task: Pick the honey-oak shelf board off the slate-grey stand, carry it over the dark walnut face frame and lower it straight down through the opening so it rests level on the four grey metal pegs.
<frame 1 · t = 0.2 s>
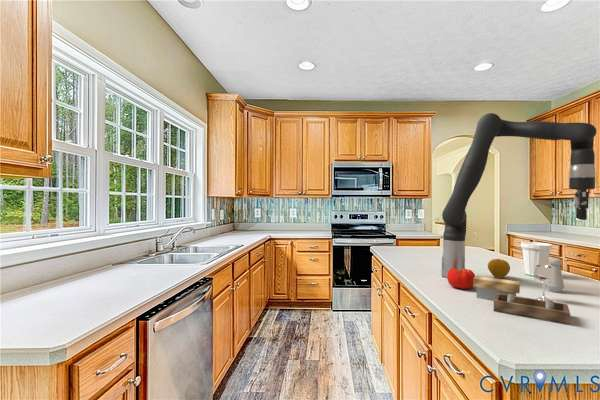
hand: (581, 219, 124), 29 cm above the countertop, fingers open, 8 cm apart
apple: (498, 278, 150), on the countertop
board: (496, 288, 117), point 4 cm above the countertop, touching stand
wineglass: (543, 299, 118), on the countertop
cup: (535, 275, 155), on the countertop
salt shaker: (554, 291, 128), on the countertop
stand: (496, 299, 117), on the countertop
peg frame: (529, 313, 103), on the countertop
tomato: (461, 287, 133), on the countertop
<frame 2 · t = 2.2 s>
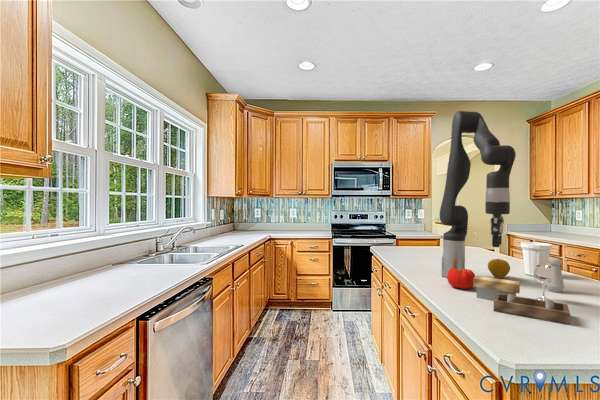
hand: (496, 245, 117), 19 cm above the countertop, fingers open, 8 cm apart
nothing on the countertop moved.
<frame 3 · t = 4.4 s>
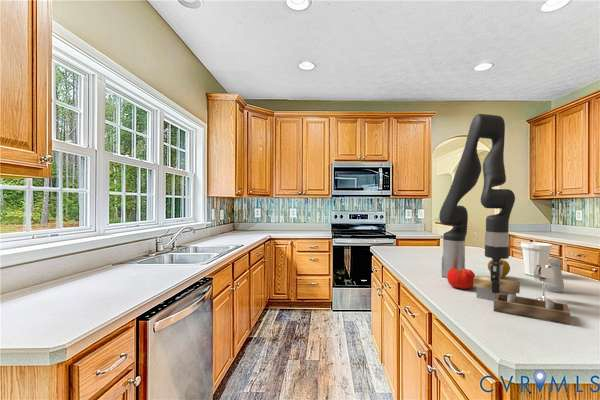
hand: (496, 291, 117), 3 cm above the countertop, fingers closed on board, 5 cm apart
board: (496, 288, 117), point 4 cm above the countertop, touching gripper, stand
everything else where it was.
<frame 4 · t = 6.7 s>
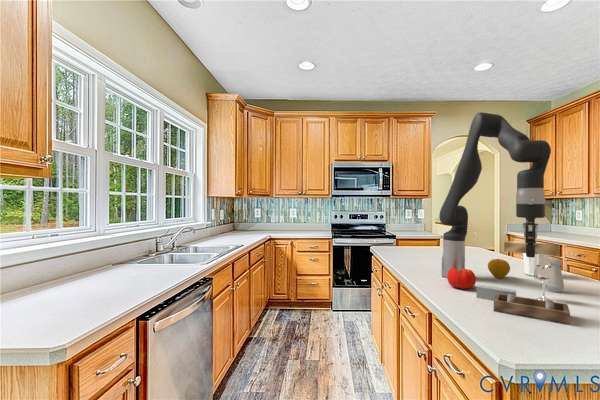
hand: (530, 255, 103), 18 cm above the countertop, fingers closed on board, 5 cm apart
board: (530, 252, 103), point 19 cm above the countertop, touching gripper
everything else where it was.
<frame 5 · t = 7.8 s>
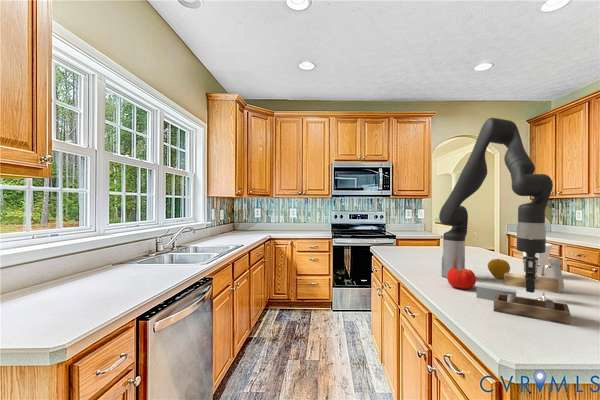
hand: (530, 289, 103), 7 cm above the countertop, fingers closed on board, 5 cm apart
board: (530, 286, 103), point 8 cm above the countertop, touching gripper
everything else where it was.
when the fingers open (5 cm above the countertop, at t = 8.7 s): board drops 1 cm, resting on peg frame.
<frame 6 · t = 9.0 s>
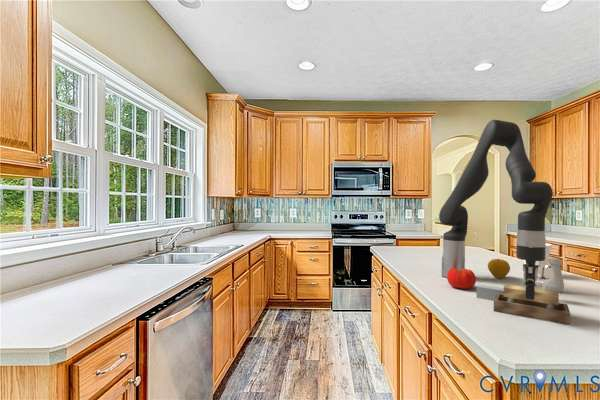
hand: (530, 295, 103), 5 cm above the countertop, fingers open, 7 cm apart
board: (529, 298, 103), point 4 cm above the countertop, touching peg frame
everything else where it was.
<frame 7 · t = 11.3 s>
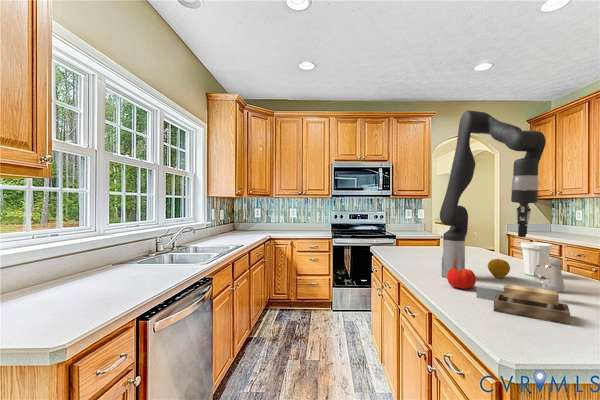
hand: (522, 235, 112), 24 cm above the countertop, fingers open, 8 cm apart
nothing on the countertop moved.
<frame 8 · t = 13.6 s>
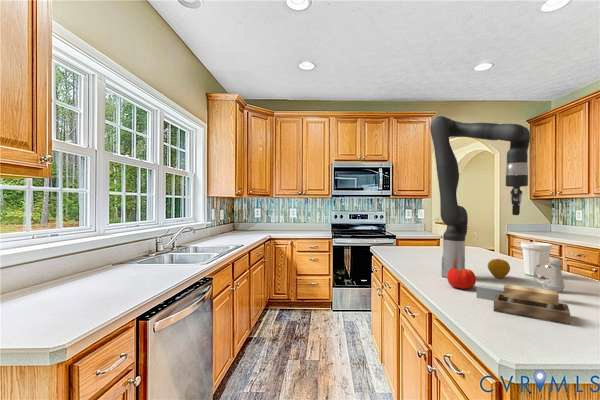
hand: (516, 214, 131), 30 cm above the countertop, fingers open, 8 cm apart
nothing on the countertop moved.
at the end: board 0.1 cm off-centre on the peg frame, point 4.5 cm above the peg frame's base; board tilted 0°; the gripper is holding nothing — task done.
